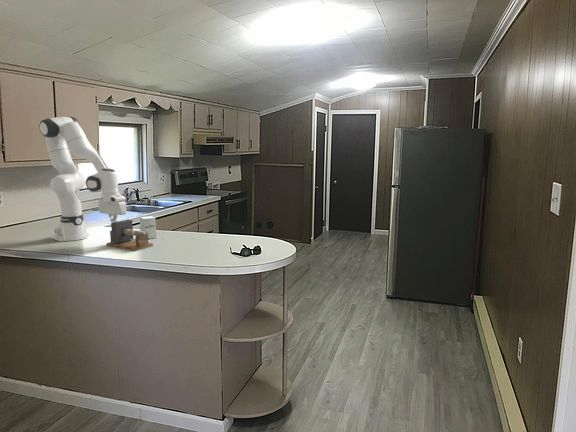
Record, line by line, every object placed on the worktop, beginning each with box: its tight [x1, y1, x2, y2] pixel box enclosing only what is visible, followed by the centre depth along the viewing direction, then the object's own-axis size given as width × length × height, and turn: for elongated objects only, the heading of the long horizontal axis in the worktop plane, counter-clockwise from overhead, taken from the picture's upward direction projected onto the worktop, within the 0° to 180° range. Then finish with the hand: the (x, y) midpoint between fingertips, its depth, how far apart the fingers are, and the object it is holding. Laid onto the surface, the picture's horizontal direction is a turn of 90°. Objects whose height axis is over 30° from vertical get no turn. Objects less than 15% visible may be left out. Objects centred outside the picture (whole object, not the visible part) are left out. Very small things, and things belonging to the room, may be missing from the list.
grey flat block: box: [110, 218, 135, 243], centre depth 256 cm, size 4×11×11 cm, turn 148°
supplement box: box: [139, 215, 158, 240], centre depth 273 cm, size 7×7×13 cm
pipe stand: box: [105, 228, 154, 252], centre depth 254 cm, size 24×12×10 cm, turn 58°
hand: (113, 221), depth 259 cm, fingers closed
